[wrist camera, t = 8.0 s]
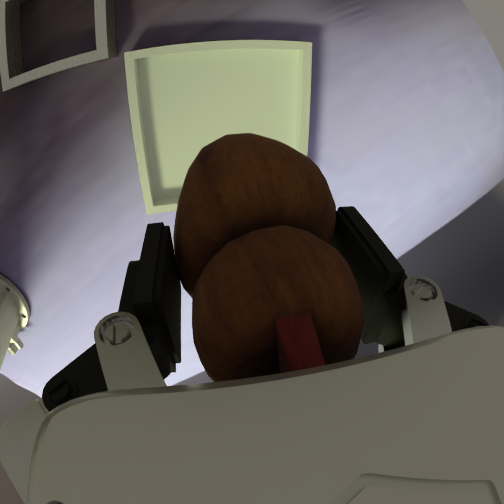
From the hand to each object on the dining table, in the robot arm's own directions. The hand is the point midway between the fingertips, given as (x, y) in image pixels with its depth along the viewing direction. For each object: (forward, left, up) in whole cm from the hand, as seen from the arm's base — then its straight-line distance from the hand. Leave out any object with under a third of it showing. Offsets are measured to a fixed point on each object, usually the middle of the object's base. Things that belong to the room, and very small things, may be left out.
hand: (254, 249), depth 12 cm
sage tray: (0, 0, -21) cm, 21 cm away
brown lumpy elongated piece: (0, 0, -6) cm, 6 cm away
